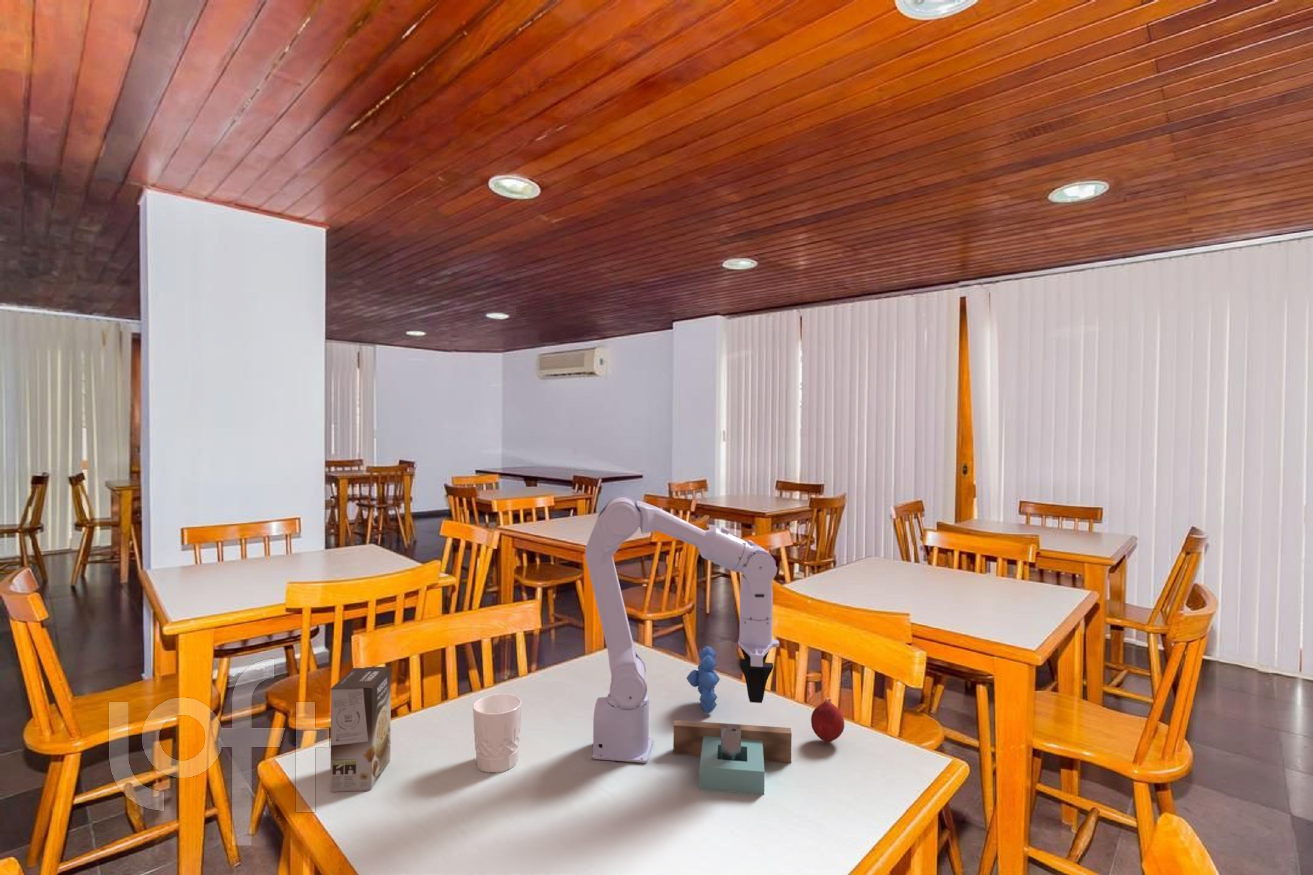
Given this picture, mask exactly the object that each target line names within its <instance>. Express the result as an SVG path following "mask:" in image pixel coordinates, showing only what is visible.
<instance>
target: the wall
mask: <svg viewBox="0 0 1313 875" xmlns="http://www.w3.org/2000/svg"><path fill="white" fill-rule="evenodd" d="M726 724H727V722H726V723H724V722H710V721H696V720H695V721H693V720H680V719H679V720H678V719H675V720H674V721H673V743H672V744H673V752H672V753H673V754H674V755H681V756H683V755H684V756H692V757H693V756H695V757H696V756H697V757H701V751H702V743H703V736H712V737H721V727H722V726H723V725H726ZM733 724H734V725H737V726H739V727H740V728H741V739H752V740H762V742H763V757H764V762H774V763H775V762H777V763H788V764H789V763H792V737H793V736H792V728H791V727H786V726H785V727H783V726H767V725H753V724H739V723H733Z"/></svg>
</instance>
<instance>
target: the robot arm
mask: <svg viewBox="0 0 1313 875" xmlns="http://www.w3.org/2000/svg"><path fill="white" fill-rule="evenodd" d="M639 528H640V534H647V533H653V532H660V533H662V534H665V535H667V536H669V537H672V538H674V539H677V540H679V541H682V542H684V543H687V544H689V545H691V546H694V547H696V548H698V550H699V553H700V556H701V558H703V559H705V560H707V561H709V562H712V563H714V564H715V565H718V566H720V567H723V568H724V569H726V570H729V571H731V572H733V573H741V574H740V589H739V635H738V636H739V637H738V640H737V641H738V642H737V644H738V646H739V648H740V650H741V652H742V655H743V659H742V658H739V668H740V670H741V672H742V674H743V677H744V679H745V684H746V685H745V686H746V690H747V696H748V700H749V703H753V704H754V703H756V704H762V703H763V701H764V696H765V692H766V686H767V682H768V679H769V677H770V675H771V673H772V671H773V668H774V663H773V662H766V661H767V657H768V654H769V652H770V651H771V649H773V648H779V647H780V641H779V639H773V616H774V615H773V613H774V612H773V611H774V610H773V609H774V608H773V606H774V605H773V604H774V603H773V600H774V599H773V598H774V591H773V580H774V579H775V577H776V575H777V573H778V567H777V566H776V565H777V564H776V561H775V558H774V557H773V555H771V554H770V553H769V552H768V551H767V550H766V549H764V547H761V546H760V545H759V544H757V543H755V542H753V541H752V540H750V539H747V540H745V539H742V538H740V537H738V536H735V535H733V534H731V533H730V530H729V529H728V528H726V527H724V526H722V527H721V528H717V527H711V528H710V529H705V530H704V529H702V528H700V527H698V526H696V525H695V524H692V523H690V522H688V521H686V520H684V519H682V518H681V517H678V516H675V515H674V514H671V513H670V512H668V511H666V510H665V509H662V508H660V507H657V506H655V505H652V504H650V503H647V502H644V501H641V500H636V501H635V500H634V499H633V498H631V497H629V496H627V495H617V496H614V497H612V498H611V499H610V500H608V501H607V503H606V504H604V506H603V508H602V509H601V510H600V511H599V512H598V516H597V518H596V521H595V523H594V525H593V528H592V531H591V533H590V536H589V537H588V540H587V543H586V546H585V550H584V555H585V560H586V564H587V569H588V572H589V573H588V574H589V578H590V581H591V586H592V591H593V594H594V598H595V603H596V607H597V610H598V611H597V612H598V615H599V619H600V624H601V628H602V632H603V637H604V642H605V646H606V649H607V655H608V662H609V664H608V665H609V670H610V675H611V676H610V683H609V693H608V694H607V696H602V697H598V698H597V699H596V702H595V706H594V711H593V721H592V722H593V724H592V725H593V727H592V728H593V734H592V737H593V739H592V740H593V741H592V742H593V744H592V745H593V746H592V747H593V749H592V752H593V753H592V755H591V756H592V759H593V760H603V761H604V760H605V761H616V762H617V761H619V762H628V763H629V762H630V763H642V764H643V763H644V764H645V763H648V761H649V757H650V754H651V751H652V747H653V745H654V744H653V743H654V738H653V737H649V723H650V722H649V721H650V720H649V719H650V718H649V712H650V709H649V708H650V700H649V699H650V697H649V694H648V684H647V682H646V679H647V678H646V671H647V670H646V663H645V661H644V660H643V659H642V657H641V656H639V654H638V651H637V648H636V645H635V643H634V640H633V636H632V632H631V631H632V630H631V626H630V622H629V619H628V614H627V610H626V607H625V606H626V605H625V601H624V599H623V598H624V597H623V593H622V589H621V585H620V581H619V576H618V573H617V567H616V565H615V559H614V555H615V554H616V552H617V551H618V550H619V548H620V547H621V545H622V543H624V542H625V541H627V540H628V539H629V538H631V537H632V536H634V534H636V532H637V531H638V529H639Z"/></svg>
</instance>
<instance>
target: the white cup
mask: <svg viewBox="0 0 1313 875" xmlns="http://www.w3.org/2000/svg"><path fill="white" fill-rule="evenodd" d="M472 711H473V712H472V713H473V714H472V716H473V734H474V750H475V753H476V754H475V755H476V757H475V758H476V760H475V761H476V766H477V769H479V770H480V771H482V772H484V771H485V772H484V773H489V772H496V773H502V772H505V771H507V770H506V769H509V770H510V769H512V768H513V767H515V766H516V765H517V762H519V746H520V740H521V739H520V738H521V737H520V736H521V735H520V733H521V721H522V720H521V718H522V716H521V715H522V699H521V698H520V697H519V696H517V695H514V694H510V693H509V694H508V693H496V694H489V695H486V696H483V697H481V698H479V699H478V700H476V701H475V702H474V703H473V706H472ZM501 771H502V772H501Z"/></svg>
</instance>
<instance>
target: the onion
mask: <svg viewBox="0 0 1313 875" xmlns="http://www.w3.org/2000/svg"><path fill="white" fill-rule="evenodd" d="M811 713H812V714H811V716H810V723H811V728H812V731H813V732H814V734H815V735H816V736H817V737H818V738H819V739H820V740H821V741H823V742H824V743H826V744H830V743H832V742H833V741H835V740H837V739H838V738H839V737H840V736H841V735H842V734H843V732H844V730H845V719H844V716H843V712H841V710H840V709H839V708H838V707H837V706H836V705H835V704H833V703H832V699H831V698H830V697H825V699H824V701H823V702H821V703H820V704H818V705H817V706H816V707H815V708H814V710H813V711H812V712H811Z"/></svg>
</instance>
